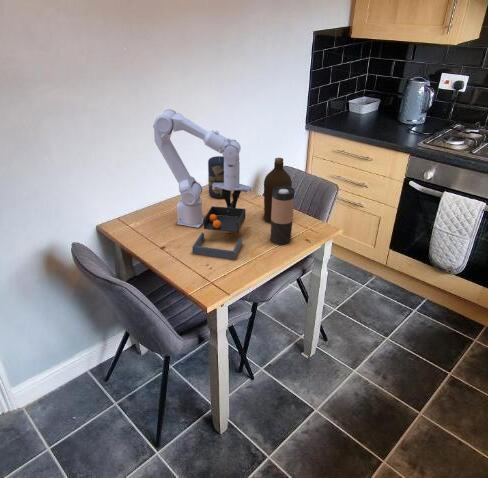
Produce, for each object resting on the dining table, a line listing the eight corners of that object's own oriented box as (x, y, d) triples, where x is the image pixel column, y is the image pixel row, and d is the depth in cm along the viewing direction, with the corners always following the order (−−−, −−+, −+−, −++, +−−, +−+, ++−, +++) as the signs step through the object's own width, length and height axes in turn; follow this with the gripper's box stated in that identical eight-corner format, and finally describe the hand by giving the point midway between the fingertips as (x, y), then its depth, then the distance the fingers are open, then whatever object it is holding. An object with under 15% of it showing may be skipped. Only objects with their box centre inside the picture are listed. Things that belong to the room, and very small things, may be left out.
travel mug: (285, 247, 153) (289, 196, 143) (266, 242, 157) (268, 191, 147) (294, 238, 159) (298, 188, 149) (275, 233, 162) (278, 183, 152)
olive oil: (264, 225, 168) (267, 164, 155) (260, 213, 177) (262, 154, 165) (291, 224, 168) (296, 163, 156) (286, 212, 178) (290, 153, 165)
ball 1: (216, 219, 161) (208, 220, 160) (215, 212, 159) (207, 213, 159) (218, 222, 158) (210, 224, 157) (217, 215, 157) (209, 216, 156)
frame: (202, 239, 159) (201, 232, 158) (242, 244, 155) (242, 237, 154) (192, 253, 151) (192, 246, 149) (234, 259, 147) (234, 252, 145)
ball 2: (211, 221, 153) (215, 217, 155) (211, 228, 155) (215, 223, 157) (218, 224, 152) (223, 220, 154) (218, 231, 154) (222, 226, 156)
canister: (207, 198, 190) (205, 159, 182) (210, 190, 199) (209, 152, 190) (228, 200, 189) (228, 160, 180) (231, 191, 197) (231, 153, 188)
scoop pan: (238, 232, 152) (238, 222, 150) (203, 229, 156) (203, 219, 154) (250, 207, 167) (250, 198, 165) (218, 205, 171) (217, 196, 169)
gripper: (253, 172, 160) (252, 205, 167) (216, 168, 164) (216, 201, 170) (249, 179, 154) (248, 213, 161) (210, 175, 158) (211, 208, 164)
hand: (231, 207), depth 165 cm, fingers closed on scoop pan, 2 cm apart
